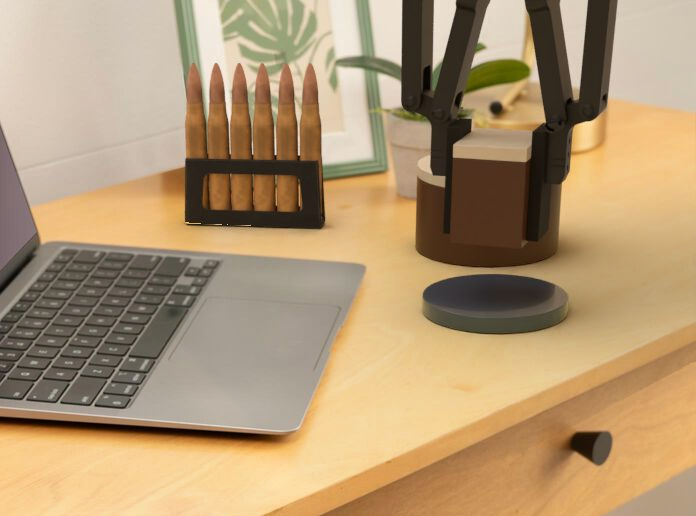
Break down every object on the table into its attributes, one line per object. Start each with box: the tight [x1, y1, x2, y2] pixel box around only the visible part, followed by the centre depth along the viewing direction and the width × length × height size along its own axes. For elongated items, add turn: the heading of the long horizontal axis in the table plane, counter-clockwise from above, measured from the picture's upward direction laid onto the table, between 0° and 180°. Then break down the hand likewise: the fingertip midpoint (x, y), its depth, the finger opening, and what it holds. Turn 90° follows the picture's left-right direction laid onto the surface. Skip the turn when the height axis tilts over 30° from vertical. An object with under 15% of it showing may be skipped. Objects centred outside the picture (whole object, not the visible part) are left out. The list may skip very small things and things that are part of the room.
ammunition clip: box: [184, 62, 326, 230], centre depth 112 cm, size 11×2×12 cm, turn 75°
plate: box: [421, 273, 569, 334], centre depth 94 cm, size 9×9×1 cm
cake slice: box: [450, 127, 534, 249], centre depth 91 cm, size 5×4×6 cm
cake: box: [414, 154, 563, 268], centre depth 106 cm, size 10×10×6 cm
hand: (495, 231), depth 92 cm, fingers closed on cake slice, 4 cm apart
